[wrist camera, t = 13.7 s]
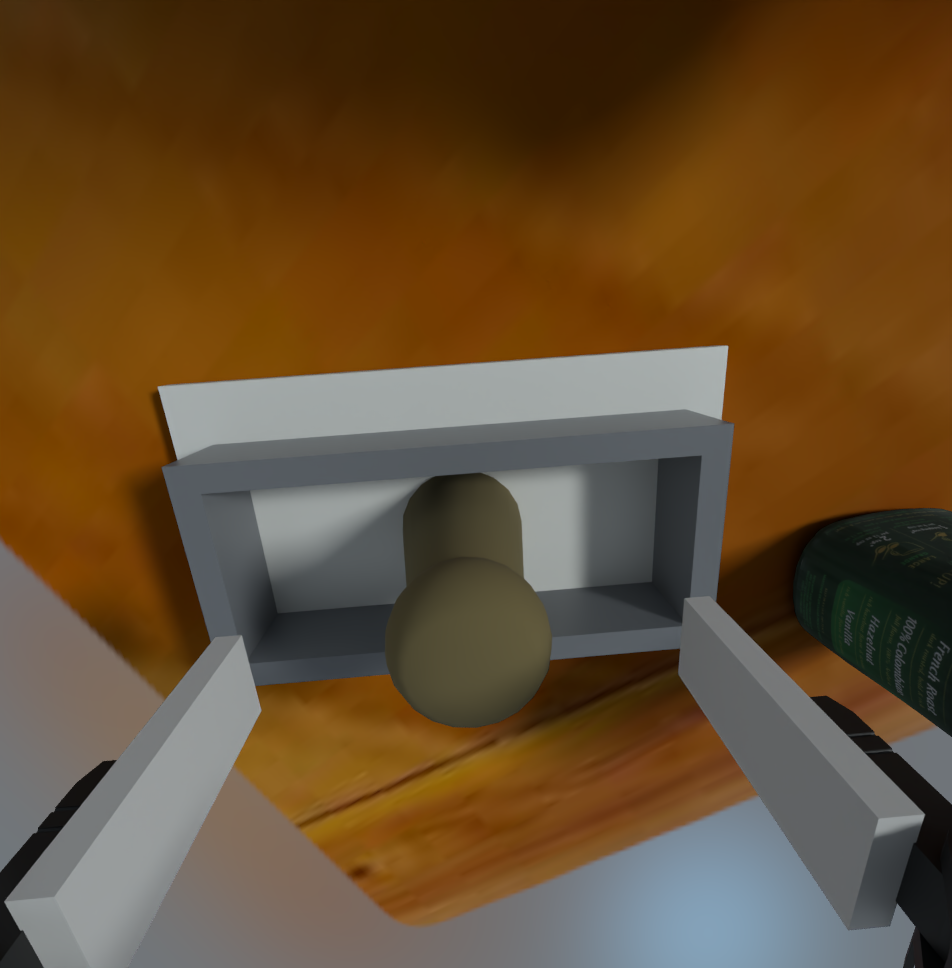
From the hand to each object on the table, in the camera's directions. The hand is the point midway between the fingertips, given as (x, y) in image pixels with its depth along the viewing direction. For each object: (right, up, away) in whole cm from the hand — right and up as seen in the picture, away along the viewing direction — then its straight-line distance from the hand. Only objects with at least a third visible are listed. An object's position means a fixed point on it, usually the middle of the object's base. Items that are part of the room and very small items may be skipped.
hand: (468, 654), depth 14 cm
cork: (0, +3, +10) cm, 10 cm away
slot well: (-1, +3, +11) cm, 11 cm away
